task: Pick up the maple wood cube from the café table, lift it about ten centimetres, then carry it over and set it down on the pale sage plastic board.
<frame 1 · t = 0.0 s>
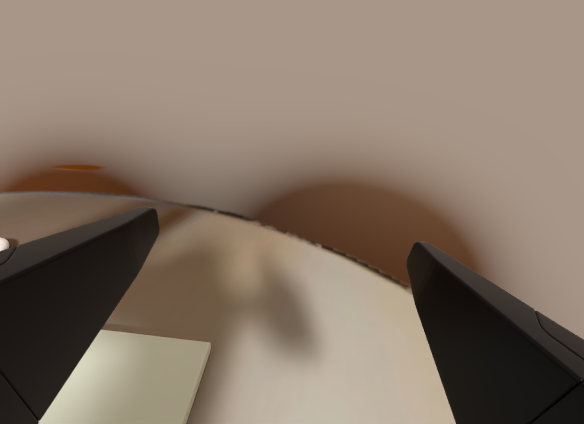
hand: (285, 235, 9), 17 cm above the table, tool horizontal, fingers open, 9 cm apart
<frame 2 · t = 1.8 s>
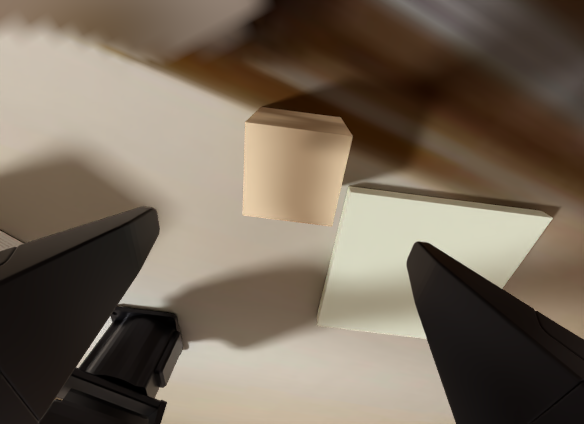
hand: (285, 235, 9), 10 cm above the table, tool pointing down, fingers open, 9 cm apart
maple cube: (296, 150, 18), on the table
sage board: (411, 271, 22), on the table
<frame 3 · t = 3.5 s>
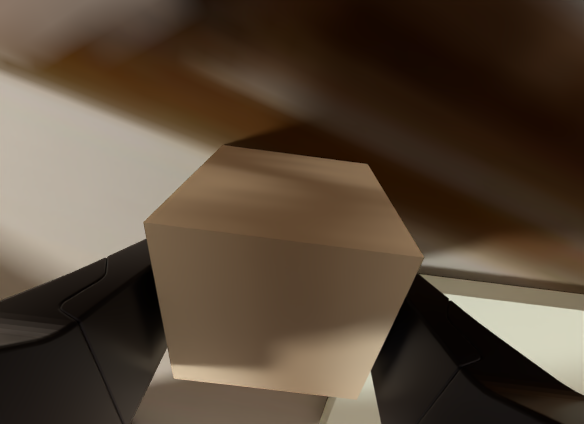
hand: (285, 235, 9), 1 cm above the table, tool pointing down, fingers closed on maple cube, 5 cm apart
maple cube: (287, 216, 10), on the table, touching gripper
sage board: (463, 377, 15), on the table
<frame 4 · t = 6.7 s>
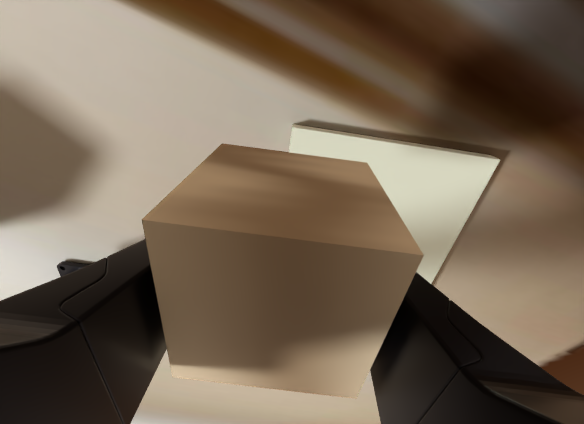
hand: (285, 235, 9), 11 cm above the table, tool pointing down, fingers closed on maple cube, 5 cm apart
maple cube: (287, 215, 10), point 10 cm above the table, touching gripper
sage board: (364, 224, 22), on the table
when the fingers open (3 cm above the table, at t = 9.9 s): maple cube drops 1 cm, resting on sage board.
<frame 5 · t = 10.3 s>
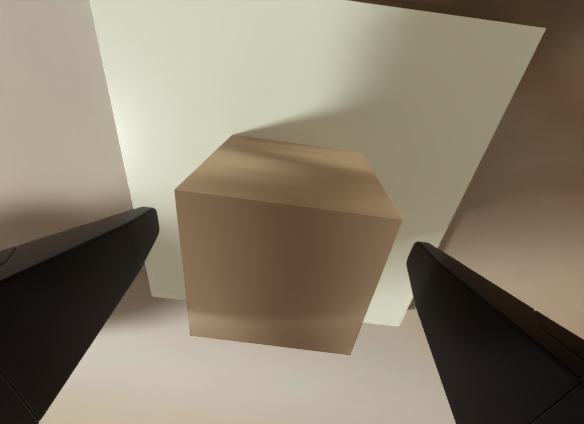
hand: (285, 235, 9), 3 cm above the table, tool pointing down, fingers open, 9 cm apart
maple cube: (289, 201, 11), point 1 cm above the table, touching sage board
sage board: (291, 192, 12), on the table
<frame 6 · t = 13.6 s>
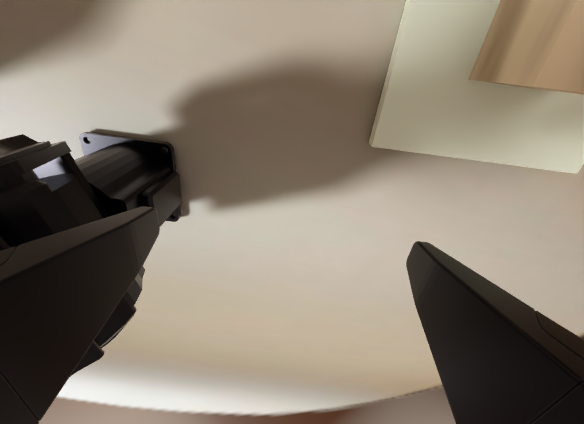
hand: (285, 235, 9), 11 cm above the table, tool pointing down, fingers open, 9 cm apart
maple cube: (534, 34, 14), point 1 cm above the table, touching sage board
sage board: (521, 37, 15), on the table
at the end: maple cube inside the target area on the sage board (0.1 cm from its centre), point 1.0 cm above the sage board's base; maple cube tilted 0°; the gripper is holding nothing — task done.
